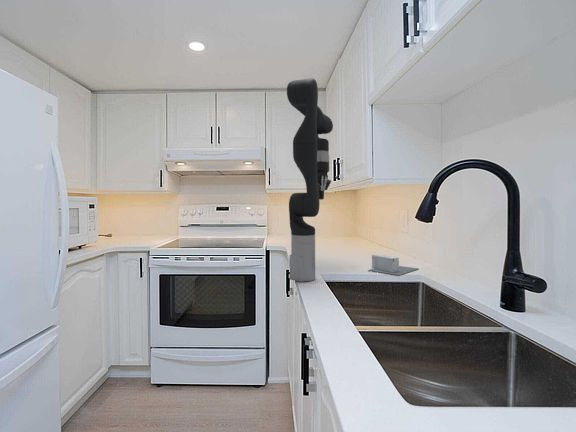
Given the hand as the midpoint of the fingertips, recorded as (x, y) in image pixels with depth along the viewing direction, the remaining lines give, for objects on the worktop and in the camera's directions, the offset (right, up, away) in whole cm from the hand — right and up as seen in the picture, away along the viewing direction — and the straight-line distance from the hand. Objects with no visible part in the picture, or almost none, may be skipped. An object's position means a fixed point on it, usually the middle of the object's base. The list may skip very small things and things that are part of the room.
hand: (320, 199), depth 157 cm
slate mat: (+30, -31, -10) cm, 45 cm away
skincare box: (+23, -28, -6) cm, 36 cm away
